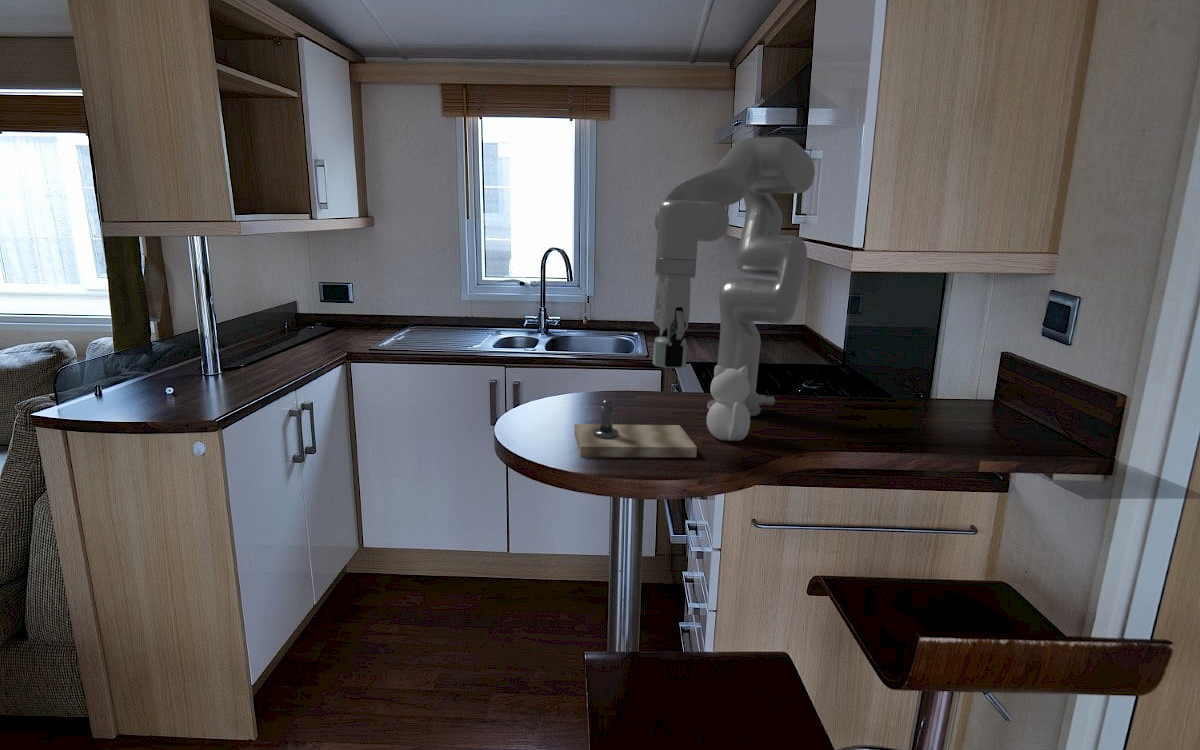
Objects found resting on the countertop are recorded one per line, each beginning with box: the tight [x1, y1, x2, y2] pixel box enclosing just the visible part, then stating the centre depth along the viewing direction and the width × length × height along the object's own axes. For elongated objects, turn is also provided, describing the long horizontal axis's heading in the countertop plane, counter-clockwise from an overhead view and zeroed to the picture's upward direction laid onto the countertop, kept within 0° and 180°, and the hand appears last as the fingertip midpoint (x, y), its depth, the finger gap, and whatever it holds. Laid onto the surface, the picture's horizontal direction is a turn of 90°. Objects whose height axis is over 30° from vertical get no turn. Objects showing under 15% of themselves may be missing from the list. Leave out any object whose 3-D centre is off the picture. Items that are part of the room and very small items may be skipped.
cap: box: [652, 336, 688, 369], centre depth 128 cm, size 6×6×5 cm
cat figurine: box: [706, 364, 751, 442], centre depth 137 cm, size 9×12×15 cm
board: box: [574, 423, 698, 458], centre depth 131 cm, size 22×14×2 cm, turn 97°
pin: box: [593, 398, 618, 439], centre depth 129 cm, size 5×5×7 cm
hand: (669, 361), depth 128 cm, fingers closed on cap, 6 cm apart
